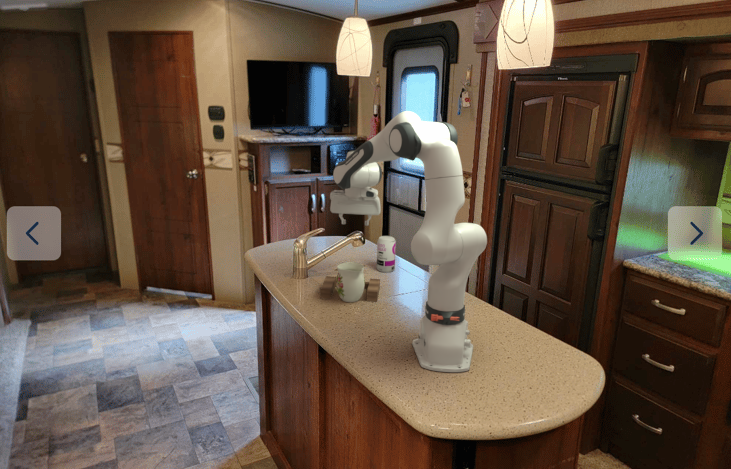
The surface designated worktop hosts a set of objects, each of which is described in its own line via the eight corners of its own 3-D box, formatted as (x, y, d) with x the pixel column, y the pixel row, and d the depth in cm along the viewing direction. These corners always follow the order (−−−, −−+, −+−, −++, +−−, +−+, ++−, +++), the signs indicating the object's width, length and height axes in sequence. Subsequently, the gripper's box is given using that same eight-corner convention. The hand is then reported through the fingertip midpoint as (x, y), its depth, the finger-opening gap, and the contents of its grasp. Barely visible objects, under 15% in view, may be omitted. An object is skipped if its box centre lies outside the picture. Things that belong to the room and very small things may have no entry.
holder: (377, 301, 184) (377, 292, 183) (320, 298, 186) (320, 288, 185) (379, 288, 198) (380, 279, 197) (326, 285, 200) (326, 276, 199)
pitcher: (352, 288, 198) (352, 255, 194) (372, 304, 182) (373, 269, 178) (327, 292, 193) (327, 259, 189) (345, 309, 177) (346, 273, 174)
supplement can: (396, 267, 223) (397, 236, 219) (392, 273, 215) (394, 241, 211) (378, 266, 225) (379, 234, 221) (375, 271, 217) (375, 239, 213)
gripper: (328, 191, 190) (328, 225, 194) (380, 193, 188) (379, 227, 192) (331, 188, 196) (330, 221, 200) (381, 190, 194) (380, 223, 198)
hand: (355, 224), depth 196 cm, fingers open, 8 cm apart
